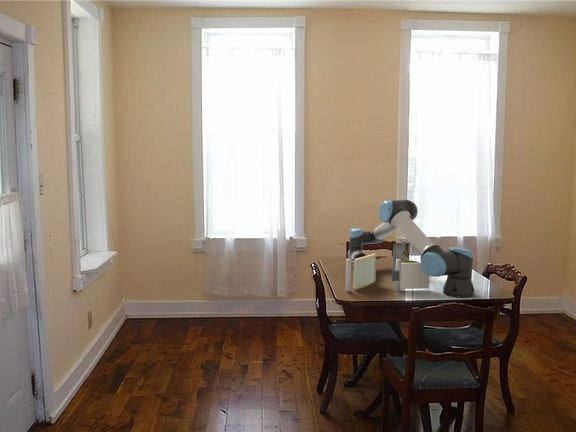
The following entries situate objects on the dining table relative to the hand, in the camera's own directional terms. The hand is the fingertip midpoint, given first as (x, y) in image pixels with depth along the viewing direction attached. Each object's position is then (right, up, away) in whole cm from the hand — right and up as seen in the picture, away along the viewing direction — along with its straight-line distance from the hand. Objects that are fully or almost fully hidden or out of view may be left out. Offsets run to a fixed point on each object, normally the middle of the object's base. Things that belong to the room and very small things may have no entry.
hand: (370, 267), depth 308 cm
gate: (-5, -8, -11) cm, 14 cm away
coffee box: (+22, -4, +31) cm, 39 cm away
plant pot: (+24, -7, +12) cm, 27 cm away
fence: (+6, -10, -18) cm, 22 cm away
